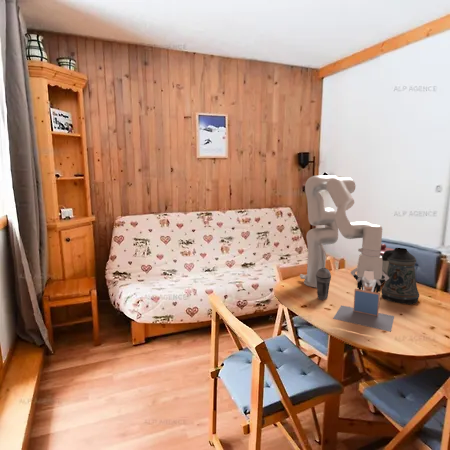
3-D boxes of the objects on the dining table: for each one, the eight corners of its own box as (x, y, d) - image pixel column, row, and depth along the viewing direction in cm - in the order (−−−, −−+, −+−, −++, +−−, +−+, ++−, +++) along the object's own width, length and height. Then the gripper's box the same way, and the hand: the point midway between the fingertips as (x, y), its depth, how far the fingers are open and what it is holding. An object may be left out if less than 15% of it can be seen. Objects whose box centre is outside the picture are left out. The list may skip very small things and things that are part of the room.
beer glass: (356, 298, 148) (358, 266, 145) (370, 297, 148) (373, 266, 146) (364, 304, 141) (366, 271, 138) (379, 303, 141) (381, 271, 139)
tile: (353, 311, 143) (354, 289, 142) (354, 309, 144) (355, 288, 143) (377, 316, 138) (379, 294, 136) (378, 314, 139) (380, 292, 138)
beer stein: (424, 306, 149) (429, 254, 145) (379, 303, 153) (383, 252, 149) (411, 293, 165) (415, 245, 161) (371, 290, 169) (374, 244, 165)
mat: (332, 319, 136) (332, 318, 136) (341, 306, 150) (341, 305, 150) (390, 332, 125) (390, 331, 125) (394, 317, 138) (394, 316, 138)
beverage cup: (330, 296, 161) (332, 258, 158) (330, 302, 154) (332, 262, 151) (315, 295, 164) (316, 256, 160) (314, 300, 157) (315, 260, 154)
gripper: (348, 251, 142) (346, 290, 145) (392, 257, 133) (389, 297, 136) (351, 248, 148) (349, 285, 151) (393, 253, 140) (390, 292, 142)
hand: (368, 291), depth 144 cm, fingers closed on beer glass, 6 cm apart
